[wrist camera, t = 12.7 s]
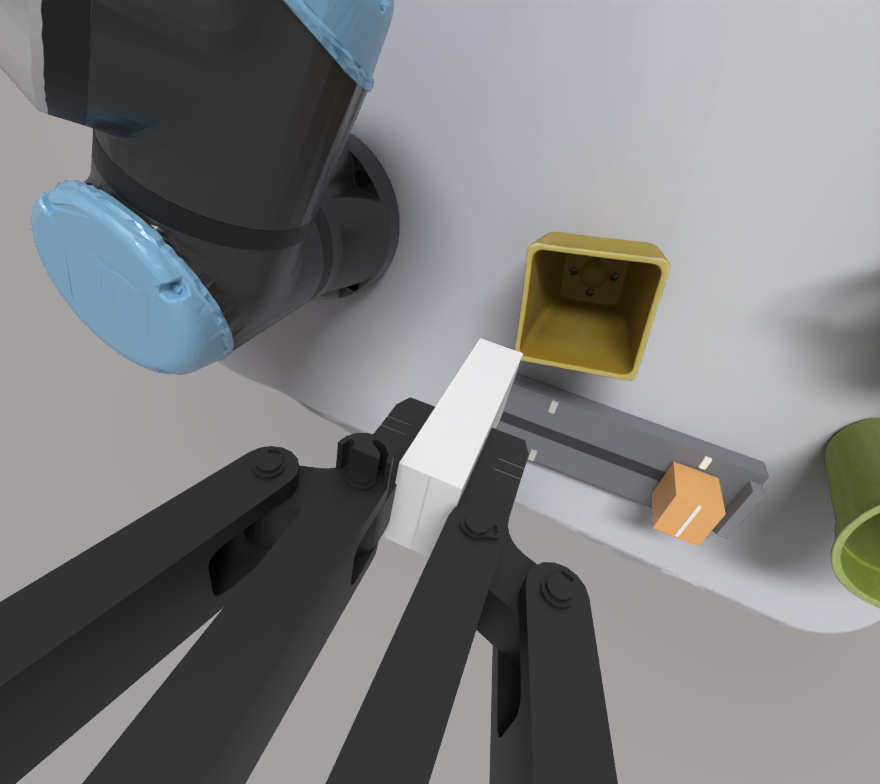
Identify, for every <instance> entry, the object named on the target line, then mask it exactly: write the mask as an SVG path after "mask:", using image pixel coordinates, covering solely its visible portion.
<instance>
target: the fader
mask: <svg viewBox="0 0 880 784" xmlns="http://www.w3.org/2000/svg"><path fill="white" fill-rule="evenodd" d="M725 514H726V513H725V508H724V503H723V498H722V493H721V488H720V483H719V478H717V477H714V476H711V475H709V474H706V473H703V472H701V471H698V470H695V469H693V468H690V467H687V466H684V465H682V464H679V463H676V462H674V461H673V463H672V464H671V466H670V467H669V469H668V470H667V472H666V473H665V475H664V476H663V478H662V479H661V480H660V482H659V483H658V485H657V486H656V488H655V489H654V491H653V492H652V528H654V529H656V530H659V531H661V532H664V533H666V534H669V535H671V536H674V537H676V538H679V539H682V540H684V541H687V542H689V543H692V544H694V545H697V546H699V545H700V544H701V542H702V541H703V540H704V539H705V538H706V537H707V535H708V534H709V533H710V532H711V531H712V530H713V528H714V527H715V526H716V525H717V524H718V523H719V521H720V520H721V519H722V518H723V517H724V516H725Z"/></svg>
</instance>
